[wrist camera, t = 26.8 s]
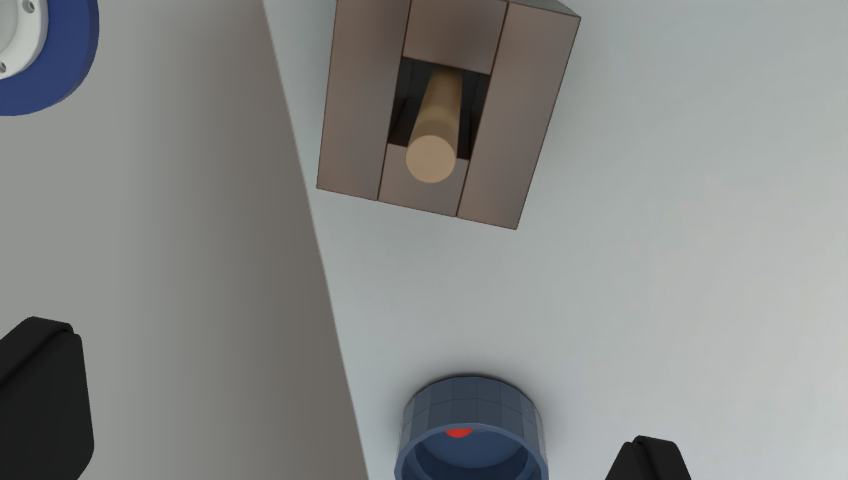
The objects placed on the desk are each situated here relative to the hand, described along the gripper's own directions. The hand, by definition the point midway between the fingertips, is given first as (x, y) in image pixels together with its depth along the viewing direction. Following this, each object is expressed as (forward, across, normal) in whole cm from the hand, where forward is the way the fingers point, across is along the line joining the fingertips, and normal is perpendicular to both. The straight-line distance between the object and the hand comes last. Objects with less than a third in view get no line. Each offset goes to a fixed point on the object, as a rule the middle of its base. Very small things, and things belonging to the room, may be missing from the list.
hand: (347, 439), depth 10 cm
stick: (+32, -1, -1) cm, 32 cm away
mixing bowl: (+32, -10, +31) cm, 45 cm away
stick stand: (+32, -1, 0) cm, 32 cm away
